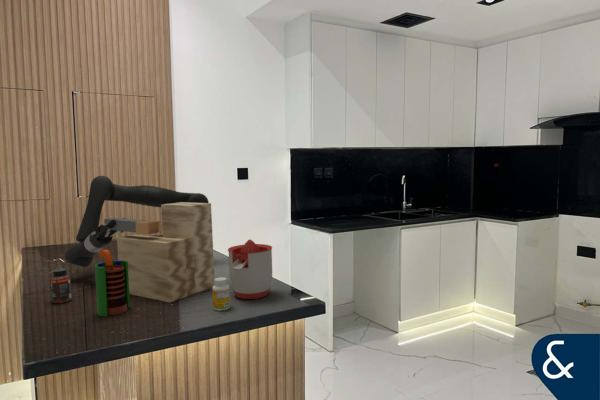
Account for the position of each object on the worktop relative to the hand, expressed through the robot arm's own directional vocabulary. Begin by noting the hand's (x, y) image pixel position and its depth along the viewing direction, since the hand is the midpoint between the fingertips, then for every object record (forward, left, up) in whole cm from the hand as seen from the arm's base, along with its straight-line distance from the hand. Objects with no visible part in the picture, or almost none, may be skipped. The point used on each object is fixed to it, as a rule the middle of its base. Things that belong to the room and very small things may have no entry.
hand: (120, 220), depth 169 cm
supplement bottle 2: (0, +50, -26) cm, 57 cm away
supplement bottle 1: (+21, -6, -26) cm, 34 cm away
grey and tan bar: (0, +6, -3) cm, 7 cm away
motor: (+19, +20, -26) cm, 38 cm away
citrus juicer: (-15, +50, -26) cm, 59 cm away
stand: (-7, +17, -26) cm, 32 cm away
